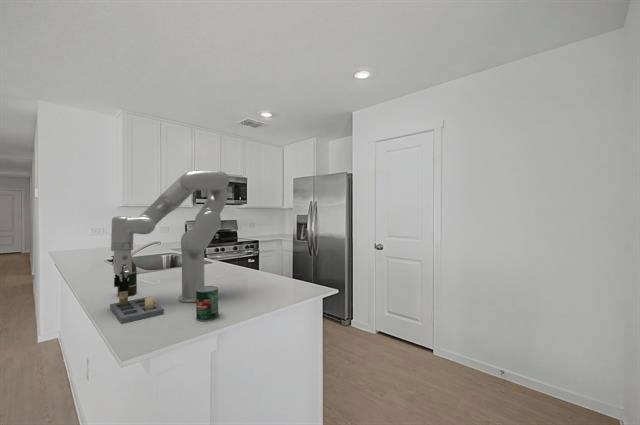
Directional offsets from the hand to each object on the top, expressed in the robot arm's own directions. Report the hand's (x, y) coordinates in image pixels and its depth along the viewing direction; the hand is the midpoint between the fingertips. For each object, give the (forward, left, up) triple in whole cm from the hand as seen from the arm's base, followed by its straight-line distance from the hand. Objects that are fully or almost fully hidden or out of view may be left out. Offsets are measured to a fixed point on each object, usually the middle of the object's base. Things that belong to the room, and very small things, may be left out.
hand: (121, 288), depth 121 cm
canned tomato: (-38, +10, -9) cm, 40 cm away
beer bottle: (+10, -22, -9) cm, 26 cm away
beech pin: (-1, 0, -9) cm, 9 cm away
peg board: (-7, +2, -9) cm, 11 cm away
